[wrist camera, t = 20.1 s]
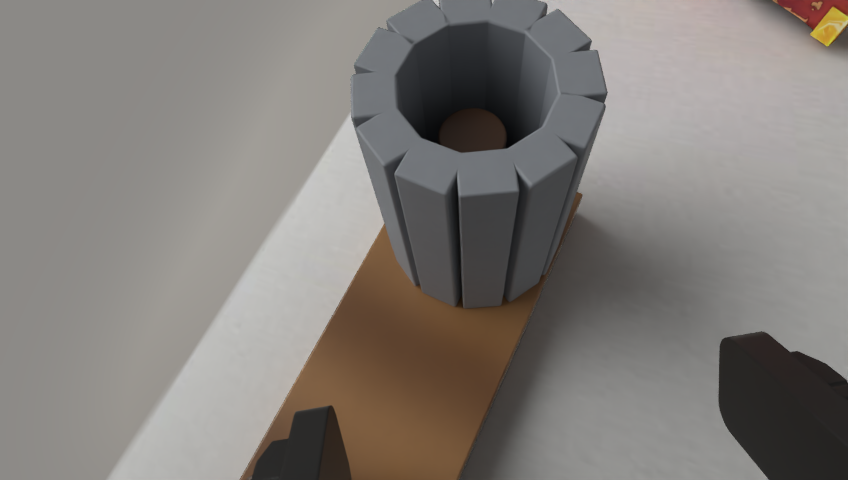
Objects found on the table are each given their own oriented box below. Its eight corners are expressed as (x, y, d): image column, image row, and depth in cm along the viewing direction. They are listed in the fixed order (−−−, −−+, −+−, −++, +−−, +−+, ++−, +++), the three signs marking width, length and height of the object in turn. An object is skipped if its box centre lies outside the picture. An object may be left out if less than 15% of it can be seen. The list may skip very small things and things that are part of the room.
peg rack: (379, 661, 17) (319, 771, 10) (213, 556, 19) (61, 590, 12) (576, 211, 22) (623, 85, 16) (435, 157, 24) (420, 19, 17)
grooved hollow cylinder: (518, 336, 19) (547, 236, 12) (363, 266, 20) (304, 137, 13) (581, 192, 21) (640, 29, 14) (436, 137, 22) (418, -37, 15)
